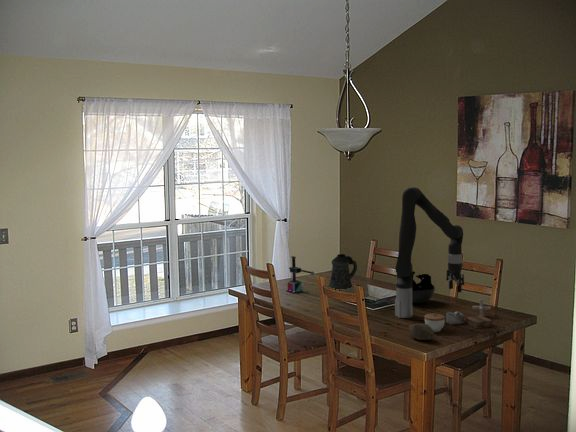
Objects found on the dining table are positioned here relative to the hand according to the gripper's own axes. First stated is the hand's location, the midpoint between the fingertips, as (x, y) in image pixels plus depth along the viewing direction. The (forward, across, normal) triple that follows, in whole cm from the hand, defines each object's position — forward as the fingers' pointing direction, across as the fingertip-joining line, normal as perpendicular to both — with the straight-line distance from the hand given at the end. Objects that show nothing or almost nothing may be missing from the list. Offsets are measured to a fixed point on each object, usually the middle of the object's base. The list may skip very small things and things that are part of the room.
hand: (455, 290), depth 350 cm
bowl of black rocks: (+18, -45, +1) cm, 48 cm away
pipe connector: (+18, -5, +20) cm, 27 cm away
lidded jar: (+18, +8, -17) cm, 26 cm away
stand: (+18, +8, +10) cm, 22 cm away
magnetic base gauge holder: (+18, -101, -59) cm, 119 cm away
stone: (+18, +19, -31) cm, 41 cm away
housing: (+18, 0, 0) cm, 18 cm away
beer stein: (+18, -95, -30) cm, 101 cm away
